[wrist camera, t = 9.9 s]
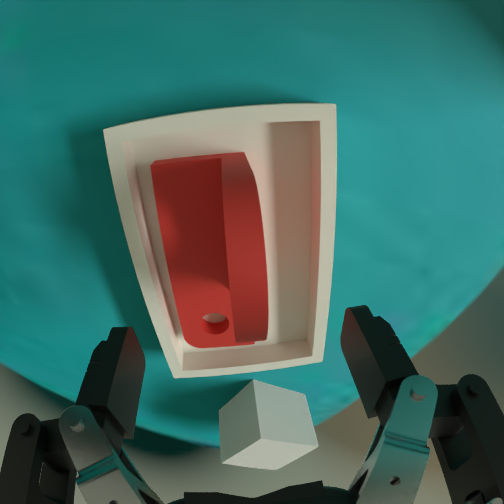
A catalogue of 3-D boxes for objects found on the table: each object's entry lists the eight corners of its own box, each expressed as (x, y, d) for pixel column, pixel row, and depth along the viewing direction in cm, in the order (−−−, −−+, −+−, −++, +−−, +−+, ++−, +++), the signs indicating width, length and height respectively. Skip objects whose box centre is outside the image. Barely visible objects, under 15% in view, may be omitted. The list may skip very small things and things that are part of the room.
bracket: (155, 160, 14) (98, 220, 7) (244, 152, 15) (266, 204, 8) (187, 337, 20) (181, 438, 13) (253, 332, 20) (268, 433, 13)
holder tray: (319, 102, 14) (335, 103, 12) (314, 337, 22) (322, 361, 20) (119, 124, 14) (103, 129, 12) (176, 353, 22) (174, 378, 20)
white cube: (252, 378, 24) (261, 438, 19) (304, 393, 26) (319, 446, 21) (218, 409, 26) (221, 463, 21) (268, 421, 28) (276, 470, 23)
